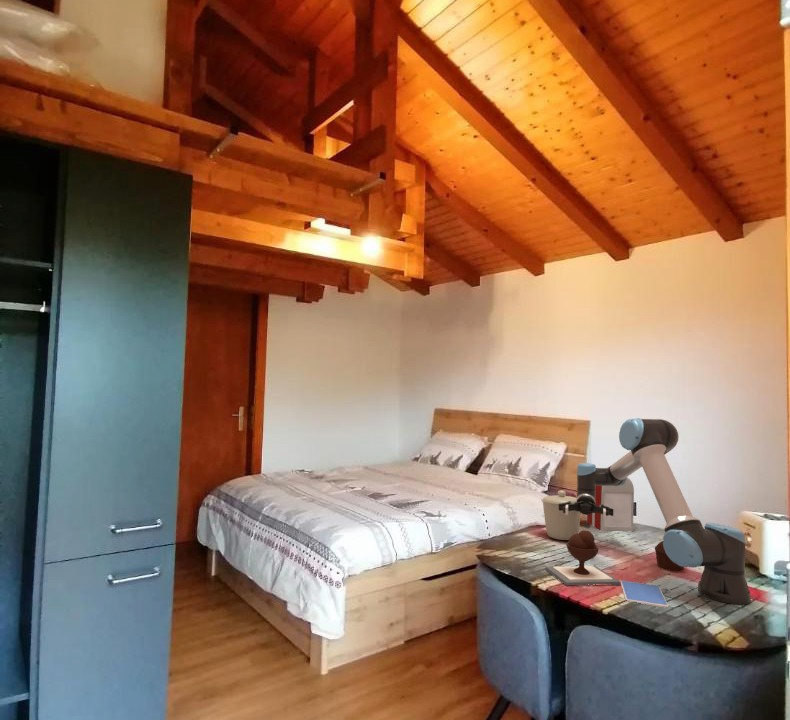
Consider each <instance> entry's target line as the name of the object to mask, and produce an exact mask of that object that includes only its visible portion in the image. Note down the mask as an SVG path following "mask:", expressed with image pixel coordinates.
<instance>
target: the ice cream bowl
mask: <svg viewBox="0 0 790 720" xmlns="http://www.w3.org/2000/svg"><path fill="white" fill-rule="evenodd" d="M565 546H566V549H567V551H568V553H569V554H570V555H571V556H572V557H573V558H574V559H575V560H576V561H578V562H579V563H578V566H579V567H578V568H576V569H574V570H573V571H574V573H577V574H581V575H588V574H590V573H589V571H588V570H587V569H585V568H584V566H585V563H586V562H588V561H590V560H592V559H594V558H595V557H596V556H597V555H598V552H599V549H600V548H599V547H598V545H597V544H596V542H595V536H594V534H593V533H592V532H590V531H589V530H580V532H578V533H577V534H574V535H572V536H571V537H570V539H569V540H568V541H567V542H565Z"/></svg>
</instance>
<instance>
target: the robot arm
mask: <svg viewBox="0 0 790 720" xmlns="http://www.w3.org/2000/svg"><path fill="white" fill-rule="evenodd" d="M618 438H619V443H620V445H621V447H622V448H623V449H625V450H627V451H629V452H626V454H625V455H623V456H622V457H620V458H619V459H618V460H617V461H615V462H614V463H612V464H611V465H610V466H608V467H597V466H596V464H594V463H591V462H590V463H589V462H580V463H577V468H576V470H577V471H576V481H577V484H576V485H577V486H576V498H577V501H576V502H575V504H572V502H571V501H568V502H565V503H560V504H559V511H561V510H563V513H565V515H568V511H574V510H575V511H579V512H580V513H581V514H582V515H584V516H587V515H589V514H591V513H600V514H603V518H604V519H606V516H609V515H611V516H613V512H614V511H613V510H614V509H612V508H609V507H607V506H604V505H603V504H601V505H600V506H597V505H596V504H595V501H596V500H595V490H596V486H618V485H623V484H625V481H626V479H627V477H628V478H629V476H630V475H632V474H634V473H635V472H636V471H638V470H639V469H641V468H642V470H643V472H644V474H645V476H646V479H647V481H648V483H649V485H650V488H651V490H652V492H653V493H652V494H653V496H654V497H655V499H656V502H657V504H658V506H659V509H660V511H661V513H662V516H663V519H664V521H665V523H666V524H665V526H664V529H663V530H664V532H665V533H664V535H663V536H662V541H664V542H663V547H664V550H665V552H666V554H667V556H668V557H669V558H670V559H671V560H672V561H673V562H674V563H675V564H677V565H679V566H682V567H684V568H692V569H693V568H697V567H704V568H703V571H702V575H701V576H700V580H699V581H698V583H697V591H698V593H699V594H701V595H702V596H704V597H706V598H709V599H711V600H714V601H718V602H721V603H726V604H731V605H749V603H751V601H752V600H751V599H752V598H751V597H752V595H751V592H750V589H749V586H748V582H747V579H746V575H745V570H746V567H745V566H746V545H747V544H746V543H747V542H746V535H745V533H744V532H743V531H742V530H741V529H739V528H735V527H732V526H729V525H724V524H719V523H714V522H706V523H705V524H704V526H703V525H702V522H701V520H700V518H699V519H698V518H697V517H695V516H693V514H692V512H691V509H690V507H689V506H688V505H689V504H688V503H687V502H686V501H687V500H686V499H685V496H684V494H683V492H682V490H681V488H680V486H679V484H678V481H677V480H676V479H677V478H676V477H675V475H674V472H673V471H672V468H671V466H670V464H669V462H668V460H667V457H666V455H667V454H668V453H669V452H671V451H672V450H673V449H674V448H675V447H676V446H677V444H678V442H679V438H680V437H679V431H678V430H677V427H676V426H675V425H674V424H673V423H671V422H670V421H668V420H665V419H662V418H657V419H654V418H639V417H638V418H637V417H636V418H630V419H626V420H625V421H624V422H623V423H622V425H621V426H620V429H619V432H618Z"/></svg>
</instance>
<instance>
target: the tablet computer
mask: <svg viewBox="0 0 790 720" xmlns="http://www.w3.org/2000/svg"><path fill="white" fill-rule="evenodd" d="M619 581H620V582H621V583H620V586H621V589H623V590H622V592H623V595H624V599H625V601H626V600H627V601H631V602H630V603H632V602H637V603H636V604H638V603H641V605H645V604H646V605H645V606H651V605H652V606H653V607H659V608H669V604H668V602H667V600H666V598H665V595H664V594H663V592H662V589H661V587H660V586H658V585H657V584H656V585H655V584H648V583H642V582H634V581H627V580H619ZM627 601H626V602H627Z"/></svg>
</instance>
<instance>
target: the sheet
mask: <svg viewBox="0 0 790 720" xmlns="http://www.w3.org/2000/svg"><path fill="white" fill-rule="evenodd" d="M567 566H568V565H567ZM567 566H552V567H553V569H555V570H556V571H557V572H559V573H560V574H561V575H563V576H564V577H566V578H567V579H568V580H570V581H593V580H613V579H612V578H611V577H609V576H608V575H606V574H605V573H603V572H601V571H600V570H598V569H597V568H595V567H593V566H594V565H589V566H588V565H584V568H585V569H587V570H588V571H589V573H590V574H588V575H581V574H577V573H574V571H573V570H574V569H576V568H578V567H579V565H578V566H573V565H572V566H568V567H567Z"/></svg>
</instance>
